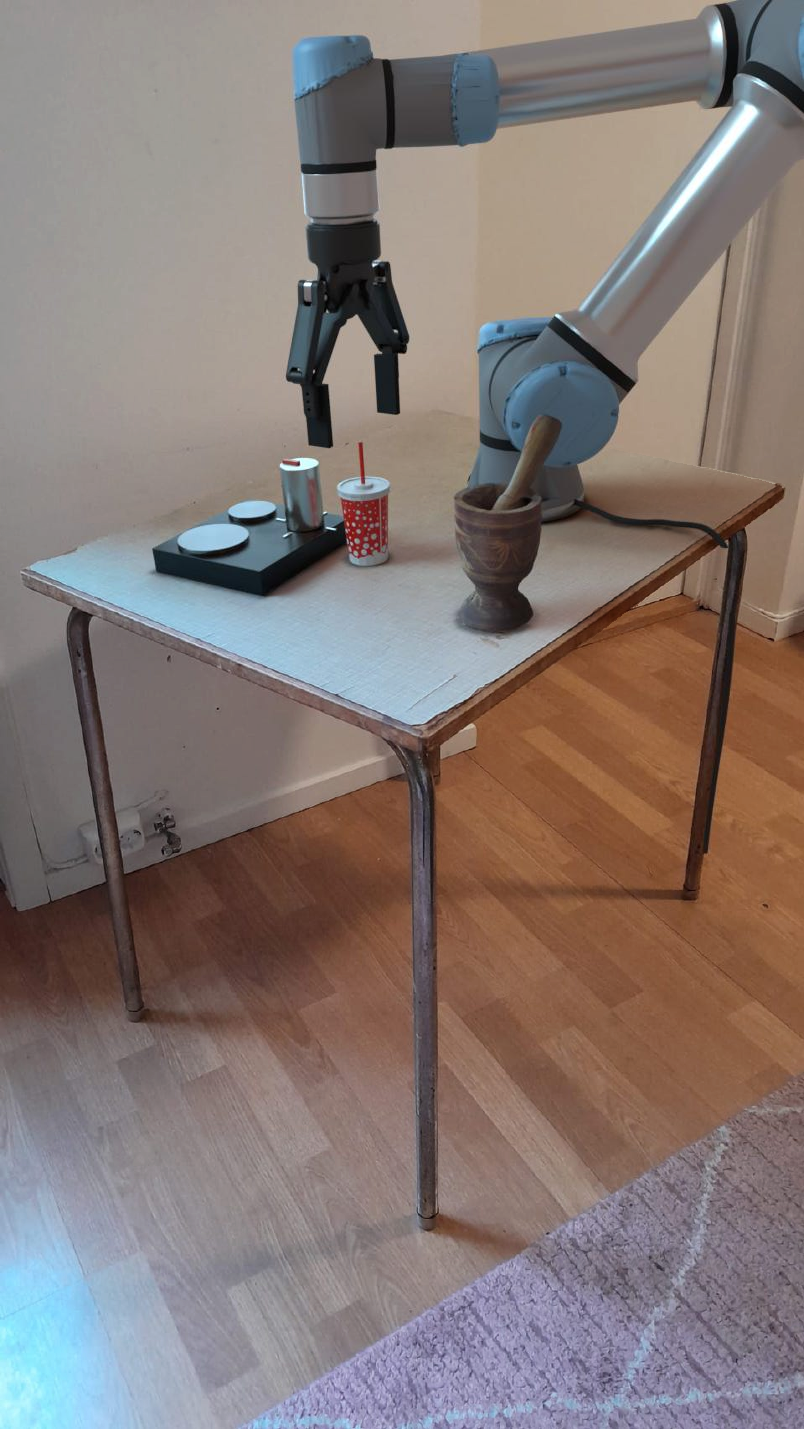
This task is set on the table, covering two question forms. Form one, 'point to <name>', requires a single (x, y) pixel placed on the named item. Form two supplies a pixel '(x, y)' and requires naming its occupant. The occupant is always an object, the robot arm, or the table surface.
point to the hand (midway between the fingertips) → (356, 429)
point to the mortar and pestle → (503, 536)
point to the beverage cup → (365, 516)
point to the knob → (302, 494)
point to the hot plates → (225, 530)
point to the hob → (255, 553)
